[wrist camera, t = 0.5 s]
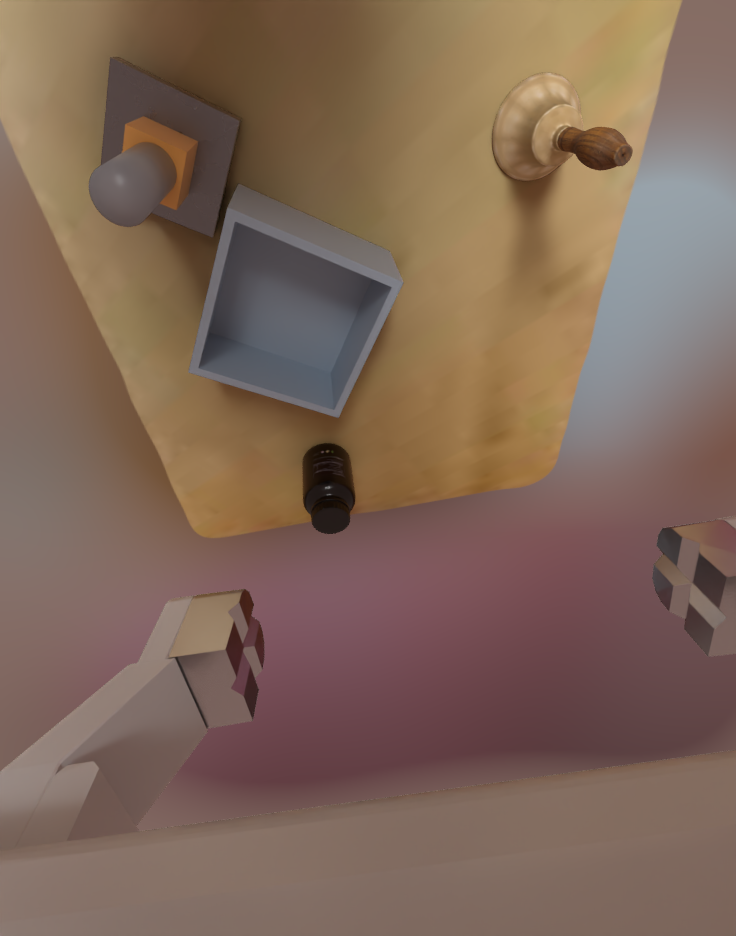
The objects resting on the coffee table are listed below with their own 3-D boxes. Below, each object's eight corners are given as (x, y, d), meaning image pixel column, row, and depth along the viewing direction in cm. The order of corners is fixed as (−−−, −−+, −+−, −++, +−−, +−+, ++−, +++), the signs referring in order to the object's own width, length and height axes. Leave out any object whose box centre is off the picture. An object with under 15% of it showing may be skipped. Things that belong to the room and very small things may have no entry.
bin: (238, 183, 45) (227, 207, 39) (389, 251, 51) (403, 282, 44) (202, 332, 55) (188, 372, 48) (334, 376, 60) (338, 417, 53)
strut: (143, 116, 40) (84, 142, 29) (198, 141, 41) (161, 175, 30) (136, 172, 42) (79, 216, 31) (188, 194, 44) (151, 243, 33)
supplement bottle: (349, 477, 71) (357, 539, 62) (303, 478, 71) (303, 541, 62) (351, 440, 67) (359, 501, 58) (301, 441, 66) (301, 503, 57)
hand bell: (511, 61, 42) (597, 67, 30) (596, 84, 43) (708, 99, 31) (479, 171, 47) (540, 213, 35) (555, 188, 49) (639, 234, 37)
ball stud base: (117, 56, 39) (91, 58, 34) (241, 118, 42) (233, 127, 37) (105, 186, 45) (81, 203, 40) (215, 231, 48) (205, 252, 43)
